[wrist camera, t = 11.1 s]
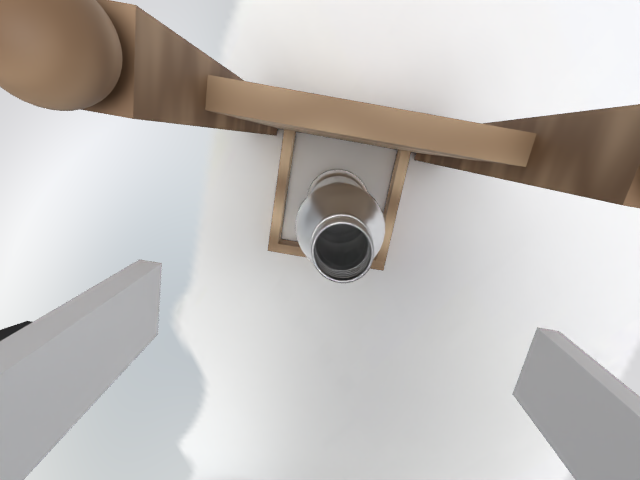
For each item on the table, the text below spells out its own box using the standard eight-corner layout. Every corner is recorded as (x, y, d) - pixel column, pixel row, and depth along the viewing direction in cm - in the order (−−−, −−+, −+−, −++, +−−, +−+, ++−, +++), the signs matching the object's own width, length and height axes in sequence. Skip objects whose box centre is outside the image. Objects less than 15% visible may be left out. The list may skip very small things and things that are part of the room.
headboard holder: (415, 270, 41) (633, 606, 11) (235, 239, 41) (-23, 500, 11) (450, 135, 37) (939, 107, 7) (251, 99, 37) (-98, -83, 7)
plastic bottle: (320, 235, 40) (310, 321, 21) (299, 179, 39) (267, 216, 19) (374, 216, 39) (415, 288, 20) (355, 158, 38) (379, 176, 19)
